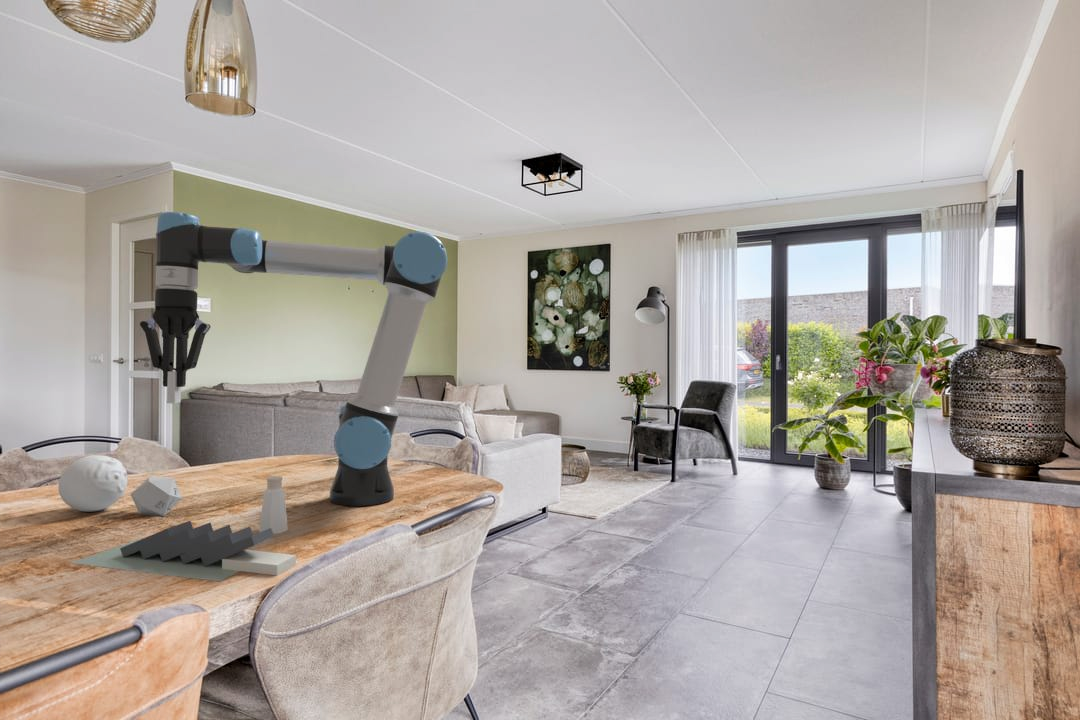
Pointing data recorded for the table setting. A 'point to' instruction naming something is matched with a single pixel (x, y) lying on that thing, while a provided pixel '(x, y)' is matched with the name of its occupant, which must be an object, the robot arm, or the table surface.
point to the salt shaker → (273, 507)
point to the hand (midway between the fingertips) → (173, 402)
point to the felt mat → (157, 564)
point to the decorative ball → (93, 483)
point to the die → (156, 496)
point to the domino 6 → (259, 562)
